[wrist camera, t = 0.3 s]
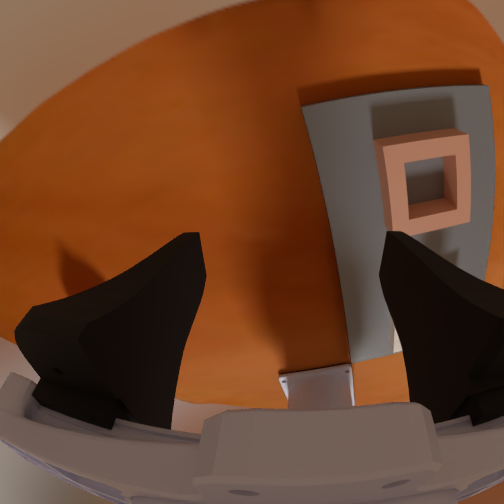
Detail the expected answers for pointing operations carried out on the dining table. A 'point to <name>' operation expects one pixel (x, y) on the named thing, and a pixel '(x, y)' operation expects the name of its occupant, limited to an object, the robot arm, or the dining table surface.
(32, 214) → the dining table surface
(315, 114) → the board
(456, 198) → the socket
